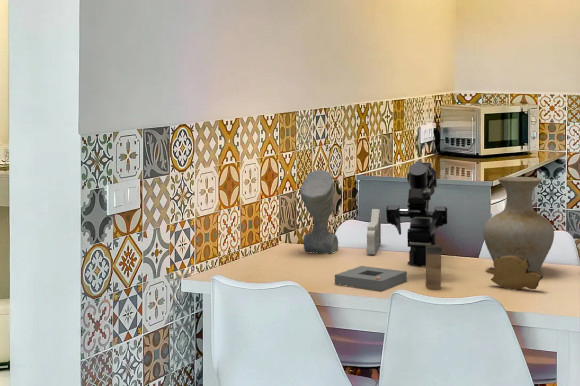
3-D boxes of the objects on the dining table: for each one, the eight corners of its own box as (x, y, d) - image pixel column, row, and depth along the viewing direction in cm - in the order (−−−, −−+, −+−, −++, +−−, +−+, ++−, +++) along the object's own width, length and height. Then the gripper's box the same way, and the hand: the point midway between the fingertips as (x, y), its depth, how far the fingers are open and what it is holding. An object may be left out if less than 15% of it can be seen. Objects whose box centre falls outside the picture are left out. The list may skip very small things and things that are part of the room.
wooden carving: (543, 290, 245) (544, 256, 244) (540, 293, 241) (541, 259, 240) (487, 284, 253) (488, 251, 251) (483, 287, 249) (484, 254, 247)
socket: (361, 275, 267) (361, 264, 267) (406, 281, 258) (406, 270, 257) (334, 284, 254) (334, 273, 254) (381, 291, 245) (381, 279, 244)
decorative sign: (374, 262, 299) (374, 221, 296) (366, 262, 299) (366, 221, 296) (380, 244, 321) (380, 206, 318) (373, 244, 322) (373, 206, 318)
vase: (494, 262, 285) (496, 174, 281) (560, 268, 274) (563, 177, 270) (473, 274, 266) (475, 180, 263) (543, 281, 255) (545, 183, 252)
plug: (425, 285, 251) (425, 244, 250) (439, 286, 251) (439, 244, 249) (426, 289, 247) (427, 247, 245) (441, 289, 247) (441, 247, 245)
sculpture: (339, 247, 315) (339, 167, 312) (332, 259, 293) (332, 173, 290) (307, 246, 317) (307, 167, 314) (298, 258, 295) (297, 173, 292)
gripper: (387, 179, 264) (382, 215, 253) (447, 180, 260) (445, 216, 249) (389, 204, 271) (385, 240, 260) (448, 206, 267) (446, 242, 256)
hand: (415, 234), depth 256 cm, fingers open, 9 cm apart
